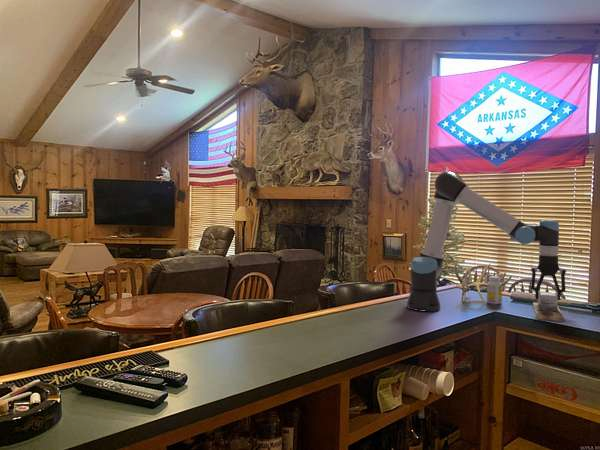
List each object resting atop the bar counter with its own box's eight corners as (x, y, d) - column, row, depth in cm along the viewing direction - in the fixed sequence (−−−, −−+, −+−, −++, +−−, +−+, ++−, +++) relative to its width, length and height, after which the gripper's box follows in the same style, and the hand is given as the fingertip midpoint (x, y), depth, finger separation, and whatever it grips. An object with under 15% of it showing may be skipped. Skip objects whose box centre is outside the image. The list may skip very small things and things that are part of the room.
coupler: (540, 308, 199) (540, 295, 198) (539, 304, 207) (539, 291, 206) (556, 310, 196) (556, 296, 196) (554, 305, 204) (554, 292, 204)
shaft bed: (536, 318, 192) (536, 305, 191) (532, 305, 215) (533, 293, 215) (563, 321, 188) (563, 307, 187) (556, 307, 211) (557, 295, 211)
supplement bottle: (498, 301, 224) (499, 275, 224) (503, 304, 218) (504, 278, 217) (485, 301, 225) (485, 275, 224) (489, 304, 219) (489, 277, 218)
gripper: (525, 255, 201) (524, 306, 202) (574, 256, 193) (573, 310, 194) (524, 253, 207) (523, 302, 209) (572, 254, 200) (570, 306, 201)
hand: (547, 306), depth 201 cm, fingers closed on coupler, 6 cm apart
